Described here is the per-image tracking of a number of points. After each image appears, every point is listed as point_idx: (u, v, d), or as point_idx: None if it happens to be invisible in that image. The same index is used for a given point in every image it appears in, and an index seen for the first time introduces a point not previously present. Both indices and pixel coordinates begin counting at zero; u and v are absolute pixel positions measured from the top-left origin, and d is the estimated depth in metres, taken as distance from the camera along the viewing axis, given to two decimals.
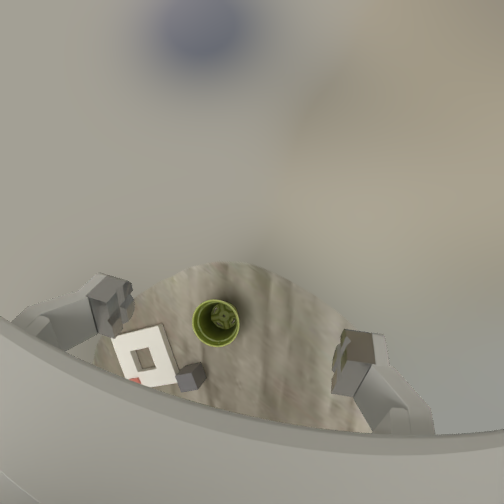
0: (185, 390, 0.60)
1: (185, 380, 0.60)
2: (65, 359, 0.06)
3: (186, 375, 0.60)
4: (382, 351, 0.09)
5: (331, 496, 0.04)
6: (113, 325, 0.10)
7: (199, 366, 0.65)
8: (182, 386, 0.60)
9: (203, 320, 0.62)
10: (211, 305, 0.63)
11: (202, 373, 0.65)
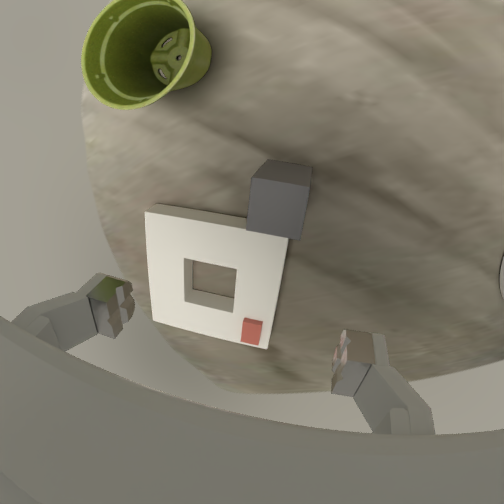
0: (299, 225, 0.22)
1: (270, 209, 0.21)
2: (65, 359, 0.06)
3: (255, 196, 0.21)
4: (382, 351, 0.09)
5: (331, 496, 0.04)
6: (113, 325, 0.10)
7: (270, 163, 0.25)
8: (283, 226, 0.22)
9: (147, 93, 0.22)
10: (131, 68, 0.22)
11: (292, 166, 0.25)
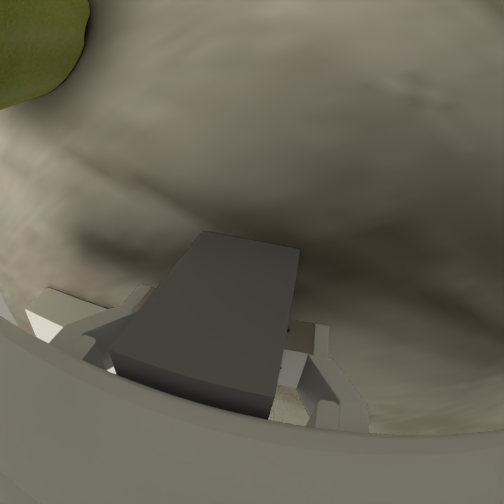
0: None
1: None
2: (65, 359, 0.06)
3: None
4: (323, 342, 0.09)
5: (331, 496, 0.04)
6: None
7: (200, 250, 0.11)
8: None
9: None
10: None
11: (251, 257, 0.11)
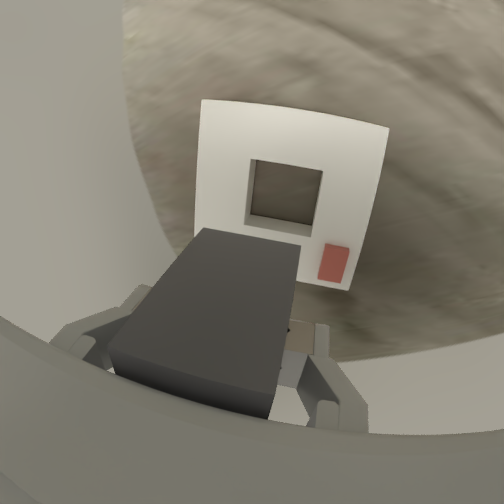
0: None
1: None
2: (65, 359, 0.06)
3: None
4: (323, 342, 0.09)
5: (331, 496, 0.04)
6: None
7: (200, 247, 0.11)
8: None
9: None
10: None
11: (251, 253, 0.11)
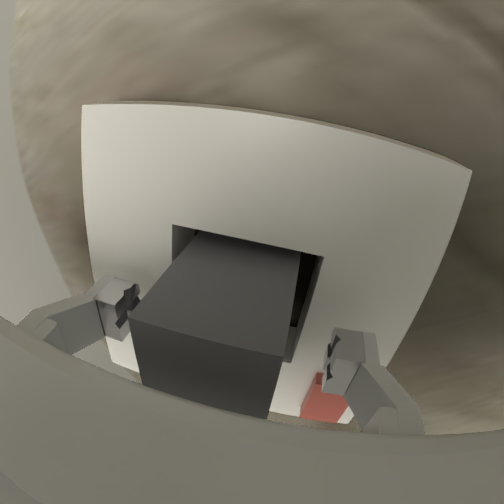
0: (257, 416, 0.08)
1: (186, 383, 0.08)
2: (65, 359, 0.06)
3: (146, 355, 0.08)
4: (372, 350, 0.09)
5: (331, 496, 0.04)
6: (121, 328, 0.10)
7: (210, 233, 0.12)
8: None
9: None
10: None
11: None
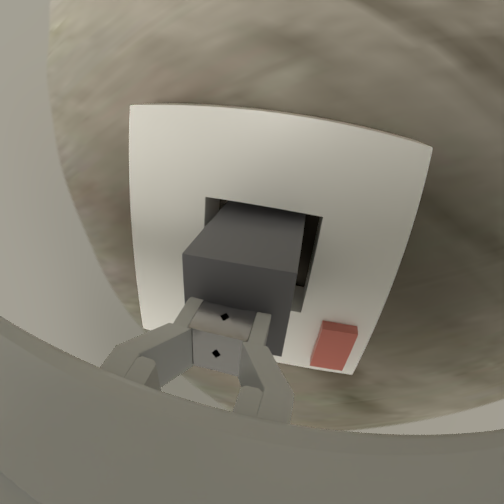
0: (278, 335, 0.11)
1: None
2: (65, 359, 0.06)
3: (193, 286, 0.11)
4: (260, 330, 0.09)
5: (331, 496, 0.04)
6: (216, 356, 0.10)
7: (234, 205, 0.15)
8: None
9: None
10: None
11: (272, 208, 0.15)
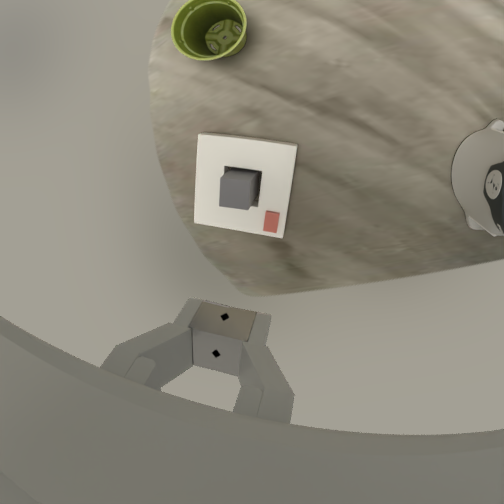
0: (246, 201, 0.40)
1: (230, 194, 0.40)
2: (65, 359, 0.06)
3: (222, 187, 0.40)
4: (260, 330, 0.09)
5: (331, 496, 0.04)
6: (216, 356, 0.10)
7: (233, 169, 0.44)
8: (238, 203, 0.41)
9: (209, 55, 0.34)
10: (196, 40, 0.34)
11: (246, 170, 0.44)
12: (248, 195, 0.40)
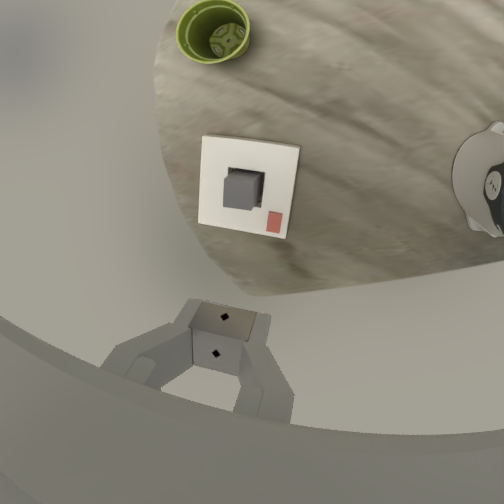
0: (249, 202, 0.41)
1: (234, 195, 0.41)
2: (65, 359, 0.06)
3: (226, 188, 0.41)
4: (260, 330, 0.09)
5: (331, 496, 0.04)
6: (216, 356, 0.10)
7: (237, 170, 0.45)
8: (242, 203, 0.41)
9: (213, 58, 0.35)
10: (200, 44, 0.35)
11: (250, 171, 0.45)
12: (251, 196, 0.41)
